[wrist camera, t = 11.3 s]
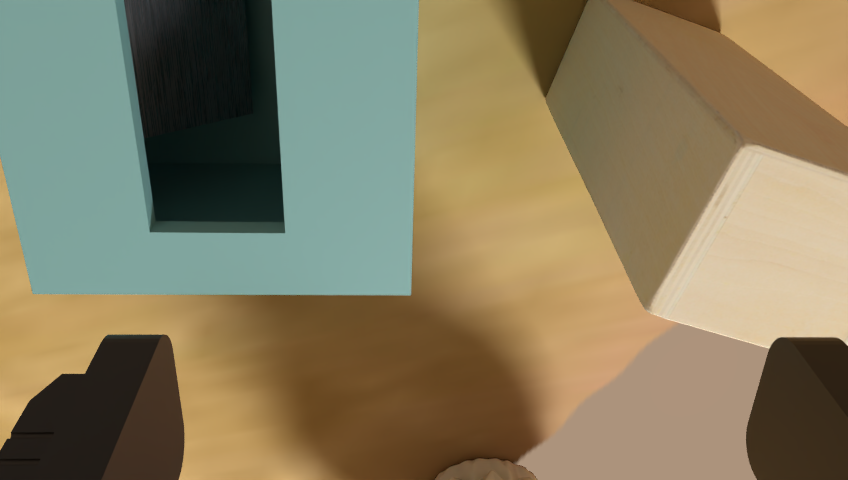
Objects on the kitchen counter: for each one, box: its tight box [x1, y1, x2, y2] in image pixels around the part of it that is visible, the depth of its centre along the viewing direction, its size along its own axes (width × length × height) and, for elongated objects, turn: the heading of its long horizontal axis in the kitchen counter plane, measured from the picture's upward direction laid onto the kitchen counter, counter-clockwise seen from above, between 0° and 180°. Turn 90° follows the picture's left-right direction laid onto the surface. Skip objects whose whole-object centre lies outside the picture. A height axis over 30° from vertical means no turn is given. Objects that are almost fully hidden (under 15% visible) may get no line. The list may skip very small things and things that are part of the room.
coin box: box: [0, 0, 419, 295], centre depth 37 cm, size 16×16×13 cm
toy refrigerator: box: [546, 0, 848, 349], centre depth 35 cm, size 8×7×21 cm
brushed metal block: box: [124, 0, 253, 138], centre depth 39 cm, size 7×3×7 cm
